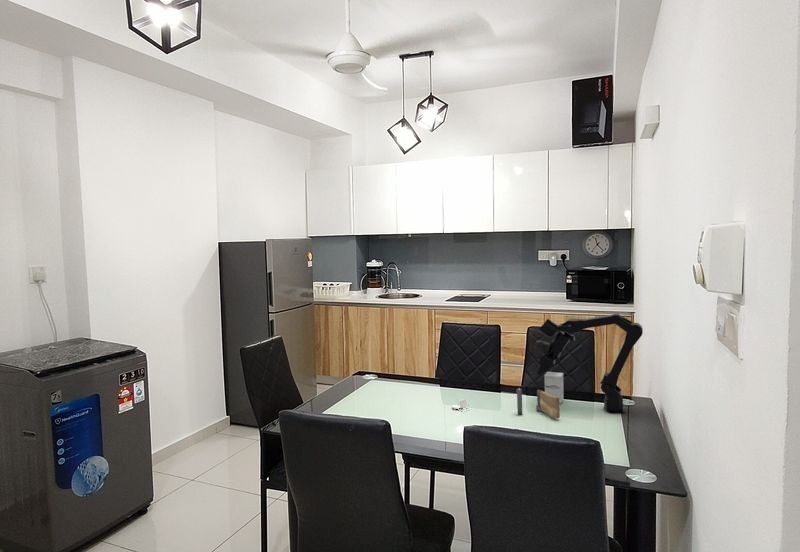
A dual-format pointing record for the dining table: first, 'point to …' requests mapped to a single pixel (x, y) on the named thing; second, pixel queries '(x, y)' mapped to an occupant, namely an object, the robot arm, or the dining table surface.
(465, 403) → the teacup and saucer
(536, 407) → the hinge base
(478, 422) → the dining table surface
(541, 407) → the wooden plank panel
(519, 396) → the post
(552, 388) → the supplement box
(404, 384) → the dining table surface
